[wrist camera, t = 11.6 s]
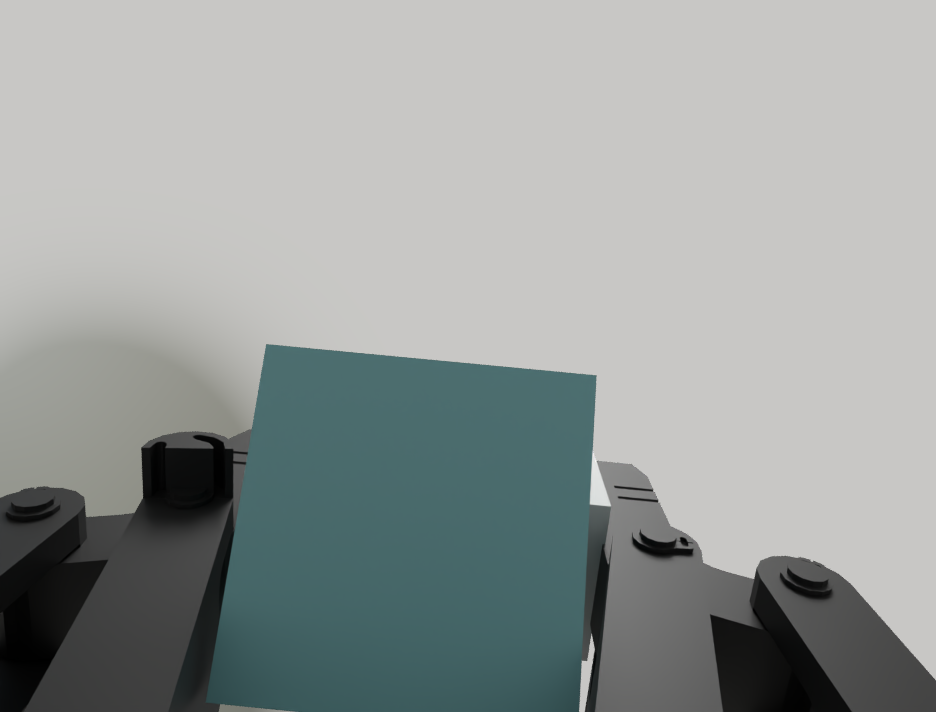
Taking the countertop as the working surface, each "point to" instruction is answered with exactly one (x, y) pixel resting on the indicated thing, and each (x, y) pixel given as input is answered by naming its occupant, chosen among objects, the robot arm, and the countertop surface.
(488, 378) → the teal rectangular bar
